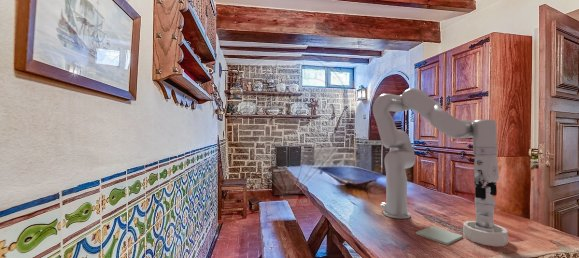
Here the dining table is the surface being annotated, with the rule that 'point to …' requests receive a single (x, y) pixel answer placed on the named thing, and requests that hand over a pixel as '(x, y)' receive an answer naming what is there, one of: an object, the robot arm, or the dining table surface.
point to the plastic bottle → (485, 212)
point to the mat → (439, 235)
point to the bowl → (485, 235)
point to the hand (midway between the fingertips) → (486, 196)
